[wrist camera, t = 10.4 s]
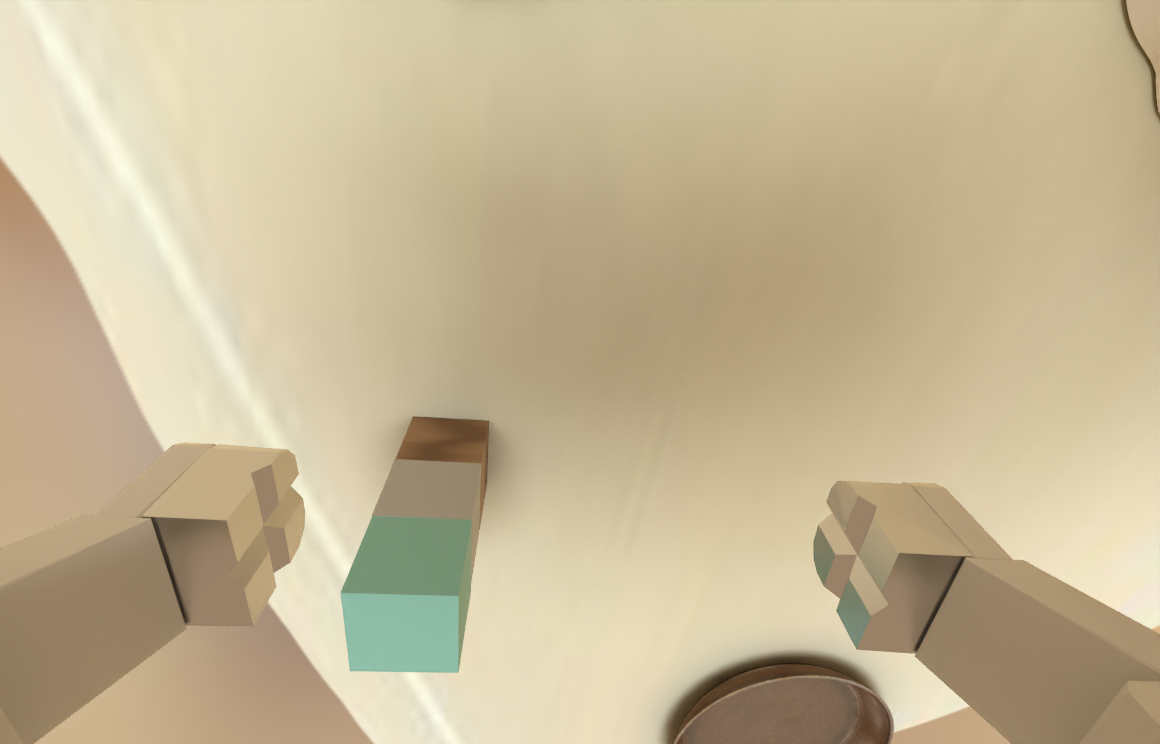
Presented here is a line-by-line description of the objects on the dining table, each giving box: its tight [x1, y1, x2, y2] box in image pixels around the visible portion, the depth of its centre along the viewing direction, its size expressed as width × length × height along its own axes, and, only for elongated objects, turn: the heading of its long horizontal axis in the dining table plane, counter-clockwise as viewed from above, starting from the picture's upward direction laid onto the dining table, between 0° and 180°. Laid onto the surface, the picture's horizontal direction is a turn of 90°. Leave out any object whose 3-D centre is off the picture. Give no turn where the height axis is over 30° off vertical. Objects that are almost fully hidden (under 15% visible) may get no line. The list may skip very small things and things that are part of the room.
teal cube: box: [341, 516, 472, 673], centre depth 28 cm, size 5×5×5 cm
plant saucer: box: [673, 664, 894, 744], centre depth 53 cm, size 21×21×3 cm
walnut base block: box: [396, 417, 489, 529], centre depth 37 cm, size 5×5×5 cm
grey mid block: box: [372, 459, 481, 580], centre depth 33 cm, size 5×5×5 cm
